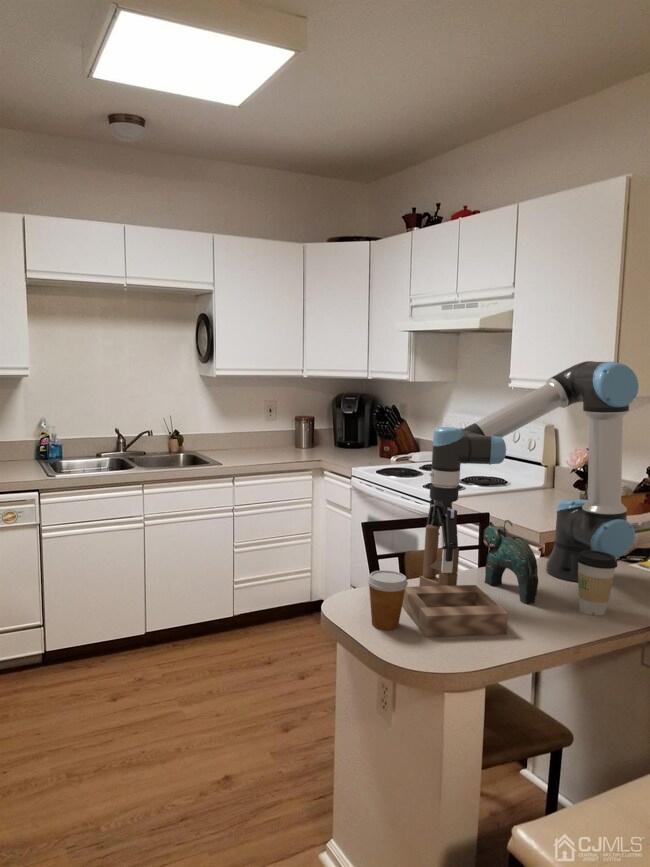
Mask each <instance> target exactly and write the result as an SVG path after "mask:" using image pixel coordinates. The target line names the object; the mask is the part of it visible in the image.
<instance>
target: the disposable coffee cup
mask: <svg viewBox="0 0 650 867" xmlns="http://www.w3.org/2000/svg"><path fill="white" fill-rule="evenodd" d="M367 584H368V587H369V602H370V613H371V614H370V615H371V625H372V626H373V627H374V628H376V629H379V630H382V631H383V630H384V631H392V630H396V629H398V628H399V623H400V619H401V614H402V608H403V607H402V604H403V599H404V593H405V588H406V587H408V585H409V583H408V580H407V576H406V575H404V574H403V573H401V572H398V571H395V570H385V569H384V570H374V571H372V572H371V573H370V574H369V577H368V578H367Z"/></svg>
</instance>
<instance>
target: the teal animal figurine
mask: <svg viewBox="0 0 650 867" xmlns="http://www.w3.org/2000/svg"><path fill="white" fill-rule="evenodd" d="M507 522H508V524H509V525H510V526H511V527H513V524H512V521H510V520H509V519H506V520H505V521H504V523H503V524H504V525H503V526H501V525H500V526H499V525H498V526H497V525H494V523H493V522H492V521H489V524H488V526H487V527H486V528H484V531H483V538H482V539H483V543H484V545H485V546H486V547H487V548H488V553H487V555H486V556H487V558H486V565H485V568H484V569H485V573H484V574H485V577H484V583H485V584H487V585H489V586H490V587H491V586H492V587H497V586H502V583H503V580H502V579H503V575H504V573H505V571H506V569H508V570H510V571H512V572H513V574H514V576H515V577H516V579H517V583H518V591H519V592H518V594H519V602H521V603H523V604H525V605H531V604H535V601H536V598H537V594H538V593H537V592H538V586H539V576H538V562H537V558H536V555H535V553H534V551H533V549H532V548H531V545H530V544H529V543H528V542H527V541H526V540H525V539H523V537H520V536H511V535H510V533H509V531H508V530H507V528H505V527H506V523H507Z"/></svg>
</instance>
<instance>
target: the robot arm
mask: <svg viewBox="0 0 650 867" xmlns="http://www.w3.org/2000/svg"><path fill="white" fill-rule="evenodd" d="M638 394H639V379H638V377H637V375H636V373H635V372H634V370H633V369H631V368H630V367H629V366H628V365H626V364H624V363H619V362H616V361H591V360H587V361H586V360H585V361H581V362H579V363H577V364H574V365H572V366H570V367H568V368H566V369H565V370H562V371H560V372H558V373H557V374H555V375H553V376H551V377H550V378H548V379H547V380H546V382H545V384H544V385H542V386H541V387H538V388H536V389H535V390H533V391H531V392H529V393H527V394H526V395H525V394H524V395H523V396H522V397H520V398H518V399H517V400H514V401H513V402H511V403H508V404H506V405H505V406H504V407H502V408H500V409H497V410H496V411H494V412H492V413H491V414H489V415H486V416H485V417H484V418H481V419H479V420H477V421H475V422H473V423H472V424H470V425H468V426H466V427H464V428H463V427H459V428H458V427H452V426H451V427H450V426H440V427H436V428H435V430H434V432H433V439H432V444H431V445H432V454H431V472H430V473H429V476H430V483H431V485H430V486H429V487H430V488H429V498H430V500H429V508H428V510H429V511H428V515H427V521H426V525H425V527H426V526H427V525H432V526H434V525H436V526H438V527H439V530H440V528H441V529H442V537H443V538H442V539H443V544H444V545H443V546H442V547H441V549H442V554H441V556H442V570H441V572H442V573H452V568H453V553H454V549H457V548H458V547H459V544H458V543H459V542H458V541H459V540H458V522H457V520H458V519H457V518H458V517H457V516H458V511H457V510H456V509H453V503H454V502H455V503H456V502H457V501H458V500H459V490H460V489H459V485H460V479H461V477H460V476H461V466H462V465H463V464H465V465H466V464H471V465H473V464H475V465H489V466H490V465H498V464H499V465H500V464H501V463H503V462H504V460H505V457H506V454H507V453H506V452H507V445H506V442H505V439H504V437H506V436H507V435H510V434H511V433H514V432H515V431H517V430H519V429H521V428H523V427H525V426H527V425H528V424H531V423H532V422H533V421H535V420H537V419H540V418H541V417H543V416H545V415H546V414H548V413H550V412H552V411H554V410H557V409H558V408H562V409H565V408H568V407H569V406H570V405H573V404H577V403H583V404H582V405H583V406H582V411H583V413H584V414H585V415H586V417H588V460H587V461H588V466H587V468H588V469H587V472H588V473H587V474H588V475H587V477H588V478H587V499H576V498H574V499H573V498H570V499H568V498H567V499H561V500H560V501H559V502H558V504H557V508H556V522H555V532H554V533H555V534H554V535H555V536H554V544H553V545H554V546H553V549H552V551H551V553H550V555H549V557H548V560H547V562H546V568H545V569H546V570H545V571H546V573H548V574H549V575H550V576H552V577H555V578H557V579H561V580H565V581H570V582H578V570H579V569H578V561H577V557H578V556H579V554H580V552H581V551H586V550H592V551H601V552H605V553H608V554H611V555H613V556H614V557H615V559H617V558H620V557H623V556H624V555H626V553H627V552H628V551H630V549H632V547H633V545H634V542H635V539H636V531H635V528H634V527H633V525H632V524H631V523H630V522H629V521H628V520H627V518H628V513H627V512H628V509H627V507H626V506H625V505H624V504H623V503H622V476H623V475H622V474H623V473H622V472H623V468H622V467H623V427H624V426H623V423H624V421H623V418H624V417H625V416H626V415H627V414H628V413H629V412H630V404H631V403H633V401H634V399H635V398H636V397H637V396H638ZM461 464H462V465H461ZM439 539H440V533H439V536H438V543H439V541H440V540H439ZM438 554H439V551H438V552H437V558H438V556H439V555H438Z"/></svg>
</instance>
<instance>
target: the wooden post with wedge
mask: <svg viewBox="0 0 650 867" xmlns="http://www.w3.org/2000/svg"><path fill="white" fill-rule="evenodd" d="M426 525H427V524H426ZM426 525H425V534H424V535H425V536H424V551H423V553H424V554H423V569H422V575H420V576H419V584H418V585H419V586H454V585H458V584H457V582H458V570H459V558H460V557H459V556H460V547H459V546H458V548H457V549H454V553H453V568H452V573H442V572H441V570H442V555H441V556H439V558H438V557H437V552H438V553H439V542H438V537H440V535H439V534H440V529H439V527H438V526H436V525H434V526H432V525H427V526H426ZM437 571H438V572H439V573H438V577H437Z"/></svg>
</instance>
